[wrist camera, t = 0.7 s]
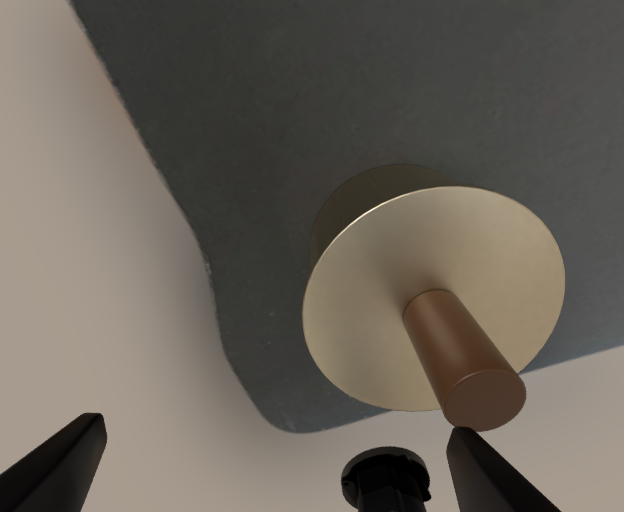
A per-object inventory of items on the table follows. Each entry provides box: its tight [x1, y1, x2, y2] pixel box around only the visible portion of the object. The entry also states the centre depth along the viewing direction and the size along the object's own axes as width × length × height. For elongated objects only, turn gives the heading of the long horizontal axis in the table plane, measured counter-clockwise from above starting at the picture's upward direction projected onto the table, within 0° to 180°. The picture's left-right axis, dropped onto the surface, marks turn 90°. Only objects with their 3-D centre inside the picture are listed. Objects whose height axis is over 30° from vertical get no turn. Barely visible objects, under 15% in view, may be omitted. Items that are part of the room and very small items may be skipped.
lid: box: [302, 183, 565, 432], centre depth 13 cm, size 10×10×6 cm
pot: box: [309, 164, 459, 271], centre depth 18 cm, size 9×9×6 cm
